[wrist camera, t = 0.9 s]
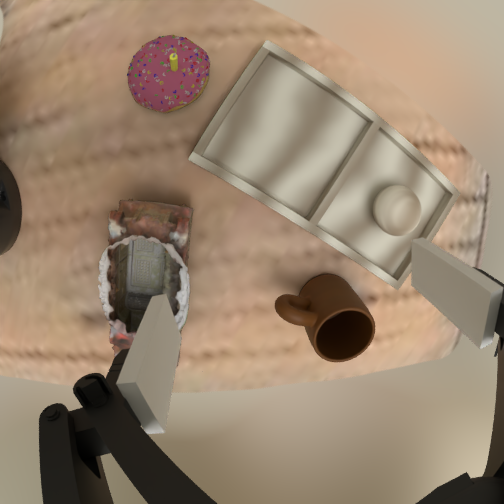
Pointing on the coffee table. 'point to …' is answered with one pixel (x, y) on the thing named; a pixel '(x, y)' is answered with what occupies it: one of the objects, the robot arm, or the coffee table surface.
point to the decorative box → (144, 265)
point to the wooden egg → (397, 210)
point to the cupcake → (168, 73)
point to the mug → (330, 317)
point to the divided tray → (321, 160)
